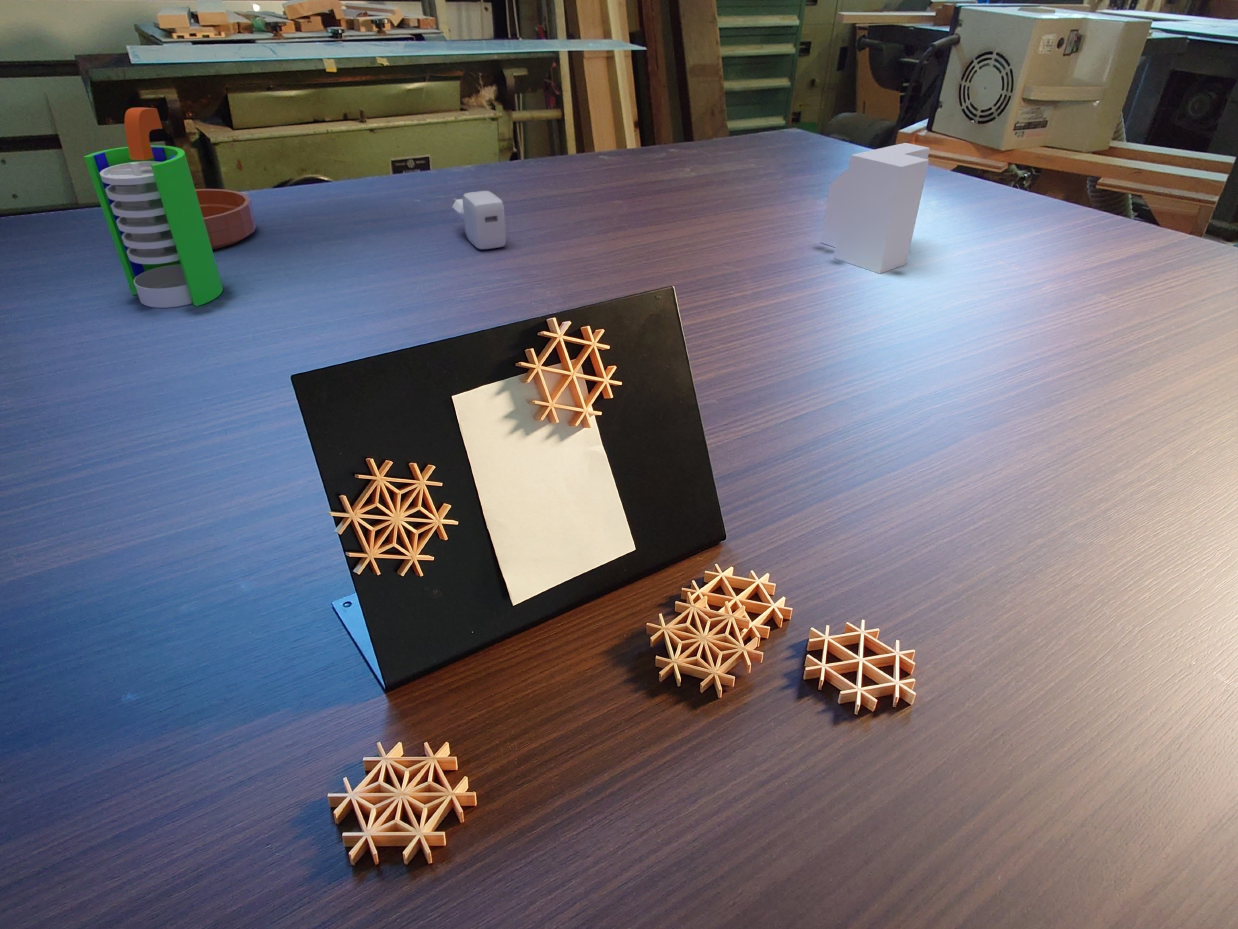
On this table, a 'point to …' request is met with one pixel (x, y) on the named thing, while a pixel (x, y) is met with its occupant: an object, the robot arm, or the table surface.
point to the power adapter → (482, 219)
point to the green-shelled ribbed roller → (155, 217)
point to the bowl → (226, 216)
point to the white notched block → (876, 206)
